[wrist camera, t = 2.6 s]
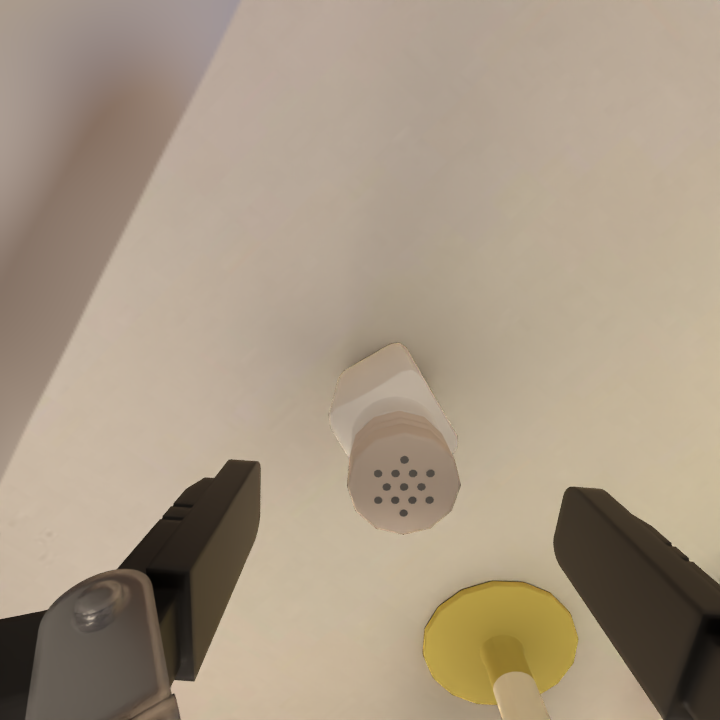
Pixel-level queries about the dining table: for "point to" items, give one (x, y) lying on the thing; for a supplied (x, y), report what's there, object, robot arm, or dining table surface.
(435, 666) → the candle
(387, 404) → the salt shaker
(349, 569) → the dining table surface
